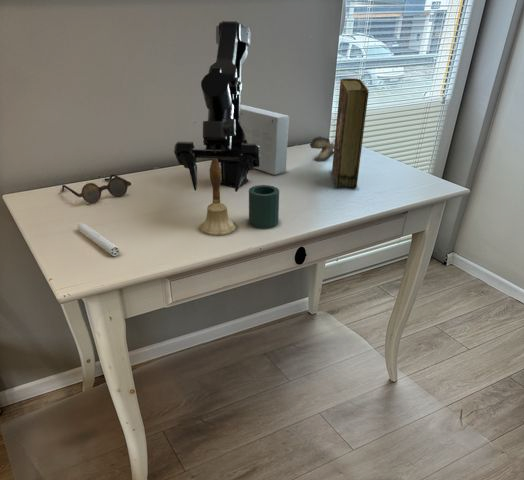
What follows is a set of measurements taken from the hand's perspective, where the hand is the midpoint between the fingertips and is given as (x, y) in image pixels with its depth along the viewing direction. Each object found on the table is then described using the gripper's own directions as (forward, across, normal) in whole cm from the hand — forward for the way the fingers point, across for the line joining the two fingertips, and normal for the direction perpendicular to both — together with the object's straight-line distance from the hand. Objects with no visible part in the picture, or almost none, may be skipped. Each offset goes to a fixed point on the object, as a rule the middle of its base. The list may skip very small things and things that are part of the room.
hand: (215, 190), depth 110 cm
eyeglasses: (-8, -37, +22) cm, 44 cm away
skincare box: (-28, +6, +42) cm, 50 cm away
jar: (+3, +10, +11) cm, 15 cm away
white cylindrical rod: (+13, -26, +1) cm, 29 cm away
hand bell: (+6, 0, +8) cm, 10 cm away
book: (-20, +32, +34) cm, 51 cm away
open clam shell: (-35, +27, +49) cm, 66 cm away
